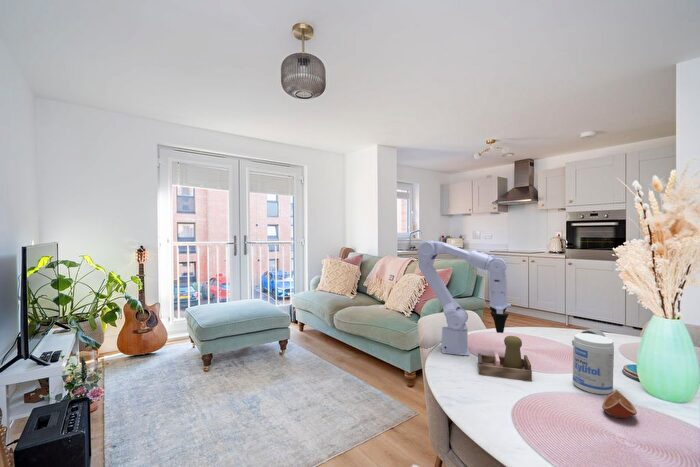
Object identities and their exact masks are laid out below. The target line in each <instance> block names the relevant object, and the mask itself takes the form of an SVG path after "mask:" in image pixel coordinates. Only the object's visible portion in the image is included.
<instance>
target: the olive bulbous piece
mask: <svg viewBox="0 0 700 467" xmlns="http://www.w3.org/2000/svg"><path fill="white" fill-rule="evenodd" d="M503 343H504V345H505V351H504V356H503V357H504V363H503V367H507V368H515V369H523V366H522V359H523V358H522V354H521V348H522V346H523V341H522V339H521V338H520V337H519V336H515V335H508V336H505V337H504V339H503Z"/></svg>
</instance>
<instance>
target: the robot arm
mask: <svg viewBox="0 0 700 467" xmlns="http://www.w3.org/2000/svg"><path fill="white" fill-rule="evenodd" d="M416 252H417V255H418V256H417V257H418V258H417V260H418V268H419V271H420V272H421V274H422V275H423V277H424V278H425V280H426V282H427V283H428V285H429V287H430V289H431V290H432V292H433V294H434V295H435V297H436V298H437V300H438V302H439V304H441V307H442V310H443V314H444V316H445V319H446V325H447V326H442V328H441V353H442V354H447V355H448V354H450V355H458V356H459V355H460V356H469V355H470V354H469V353H470V352H469V350H470V349H469V347H468V342H469V341H468V337H469V336H468V325H467V324H466V322H468V319H469V314H468V312H467V311H466V310H465V309H463V308H462V307H461V305H460V304H459V303H458V302H457V301H455V299H454V297H453V295H452V294H451V292H450V291H449V289H448V288H447V286H446V285H445V283H444V281H443V280H442V278H441V276H440V275H439V273H438V272H437V270H436V268H435V267H434V263H435V259H436V257H437V256H438V255H441V254H442V255H443V254H447V255H451V256H454V257H457V258H460V259H463V260H465V261H466V262H467V263H468V265H470V266H472V267H475V268H478V269H480V270H483V271H488V272H489V280H488V284H489V304H488V306H489V309H490V316H491V317H492V319H493V323H494V327H495V331H496V332H495V333H497V334H503V333H504V331H505V325H506V322H507V318H508V317H509V313H508V312H506V310H507V308H511V306H512V304H511V303H508V287H507V285H508V284H507V282H508V281H507V272H506V270H507V262H506V261H505V260H504V259H503V258H501V257H500V256H495V255H494V254H487V253H485V252H482V250H480V249H477V250H475V249H472V250H471V251H467V250H466V249H463V248H460V247H457V246H455V245H452V244H450V243H447V242H444V241H439V240H438V241H437V240H435V239H431V240H423V241H421V242H420V244H419V246H418V248H417V250H416Z"/></svg>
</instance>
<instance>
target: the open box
mask: <svg viewBox="0 0 700 467" xmlns="http://www.w3.org/2000/svg"><path fill="white" fill-rule="evenodd" d="M498 356H499V360H500V367H498V366H495V355H490V354H482V353H480V352H478V353H477V365H478V366H477V368H478V375H481V376H488V377H489V376H490V377H495V378H496V377H497V378H504V379H512V380H517V381H518V380H520V381H526V380H527V381H528V382H532V381H533V370H532V364H531V362H530V360H529V358H528V355H527V354H524V355H523V358H521V359H522V366H523V369H515V368H507V367H503V363H504V357H505V356H500V355H498Z"/></svg>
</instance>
